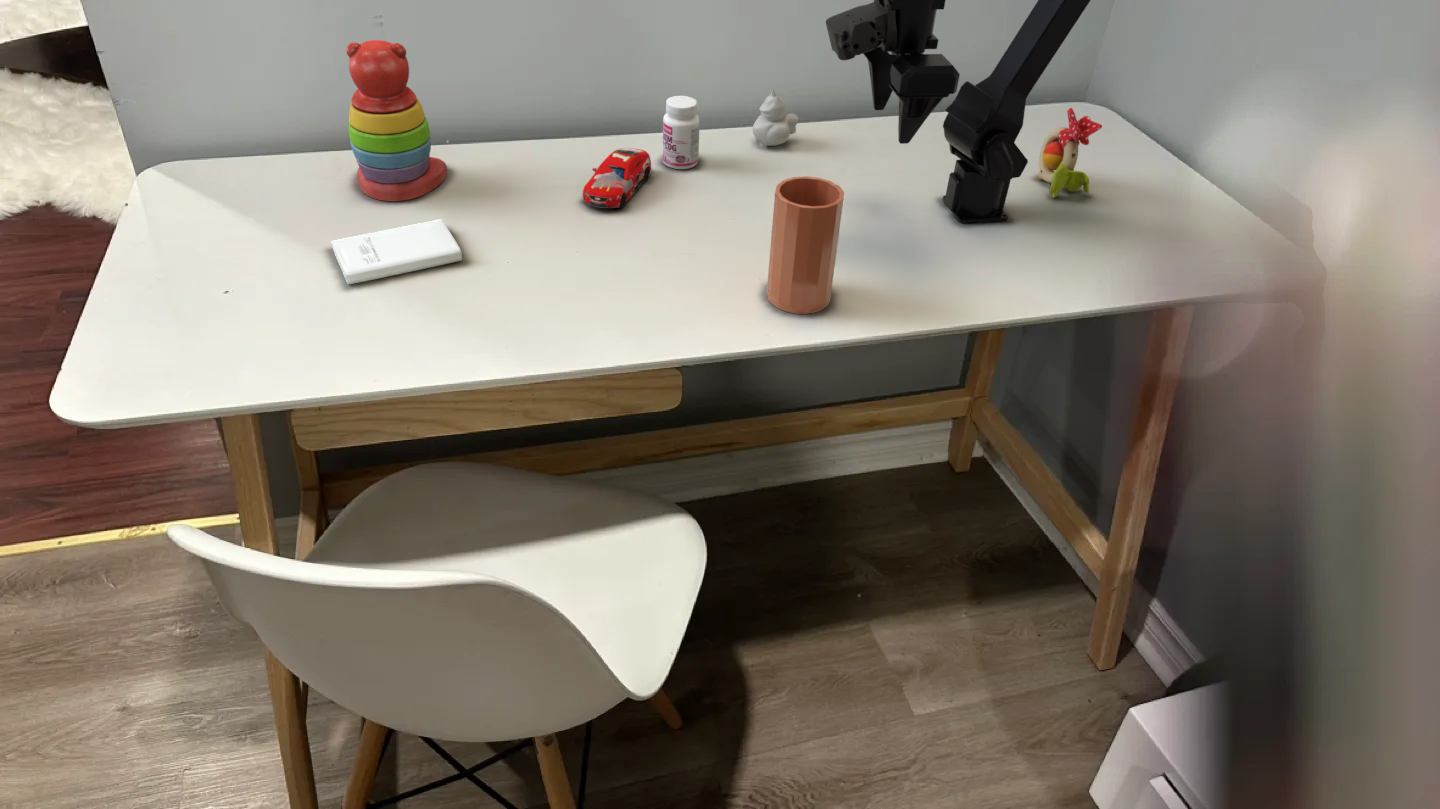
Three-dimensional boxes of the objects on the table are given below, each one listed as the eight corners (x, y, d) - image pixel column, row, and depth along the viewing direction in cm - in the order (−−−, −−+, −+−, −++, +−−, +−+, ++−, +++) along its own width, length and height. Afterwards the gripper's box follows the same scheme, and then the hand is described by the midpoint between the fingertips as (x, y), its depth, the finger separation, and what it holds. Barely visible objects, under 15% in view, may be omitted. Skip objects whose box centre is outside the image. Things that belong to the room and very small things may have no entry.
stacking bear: (450, 167, 129) (431, 27, 118) (435, 204, 121) (413, 58, 110) (366, 164, 129) (338, 24, 118) (345, 201, 121) (313, 55, 110)
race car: (617, 217, 121) (616, 186, 118) (576, 208, 122) (574, 178, 120) (658, 172, 131) (658, 143, 128) (620, 164, 132) (619, 136, 129)
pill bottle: (656, 165, 132) (656, 104, 127) (671, 152, 136) (672, 91, 130) (689, 173, 131) (690, 111, 125) (703, 159, 134) (706, 98, 129)
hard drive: (463, 262, 111) (348, 286, 106) (442, 229, 117) (332, 250, 112) (461, 250, 110) (345, 273, 105) (441, 217, 116) (330, 238, 111)
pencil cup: (802, 273, 112) (813, 170, 104) (843, 301, 108) (858, 197, 100) (754, 291, 109) (761, 186, 101) (794, 321, 105) (805, 214, 97)
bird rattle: (1019, 197, 134) (1060, 200, 126) (1019, 111, 131) (1062, 109, 122) (1059, 192, 136) (1102, 196, 127) (1060, 107, 132) (1105, 105, 124)
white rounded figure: (745, 137, 140) (748, 81, 135) (788, 132, 142) (793, 77, 137) (759, 153, 136) (764, 96, 131) (803, 148, 138) (809, 92, 133)
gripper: (815, -43, 109) (802, 96, 119) (864, 12, 95) (844, 164, 105) (912, -43, 111) (891, 93, 121) (974, 11, 97) (945, 160, 107)
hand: (890, 125), depth 113 cm, fingers open, 9 cm apart
